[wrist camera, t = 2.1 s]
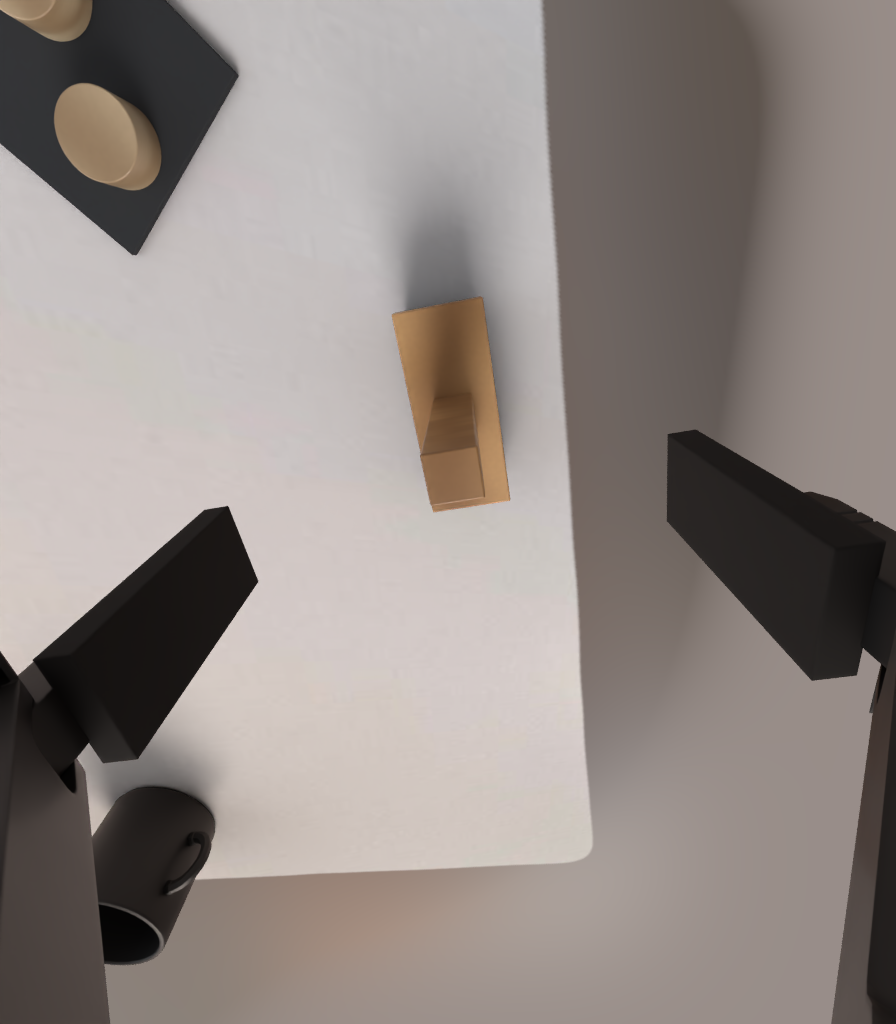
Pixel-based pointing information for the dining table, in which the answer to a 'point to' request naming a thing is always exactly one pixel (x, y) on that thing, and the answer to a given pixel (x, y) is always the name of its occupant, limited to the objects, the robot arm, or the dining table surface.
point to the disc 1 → (51, 16)
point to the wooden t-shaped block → (453, 402)
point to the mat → (129, 75)
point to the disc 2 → (107, 137)
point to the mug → (147, 869)
